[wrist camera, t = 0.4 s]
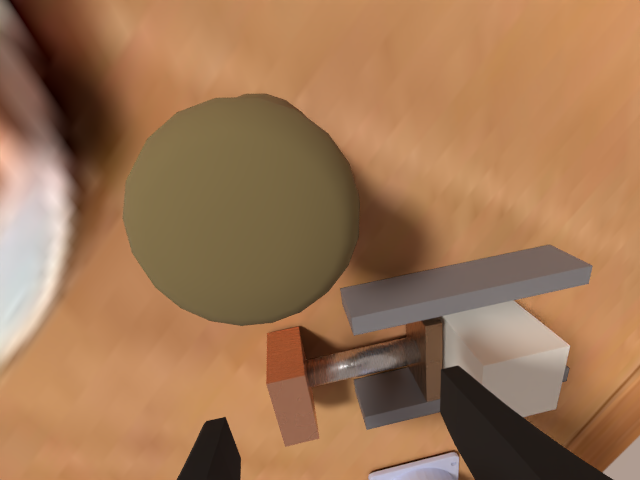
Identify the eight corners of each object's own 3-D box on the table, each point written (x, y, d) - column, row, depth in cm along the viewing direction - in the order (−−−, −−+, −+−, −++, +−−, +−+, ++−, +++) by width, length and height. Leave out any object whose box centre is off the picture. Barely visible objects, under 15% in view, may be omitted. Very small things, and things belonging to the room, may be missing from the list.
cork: (308, 82, 15) (385, 29, 5) (329, 203, 17) (408, 333, 7) (180, 106, 15) (-21, 103, 5) (220, 226, 17) (146, 397, 7)
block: (488, 337, 23) (556, 409, 18) (428, 351, 23) (478, 428, 17) (493, 284, 21) (570, 345, 16) (427, 298, 21) (483, 365, 15)
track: (533, 350, 24) (566, 381, 21) (355, 391, 23) (366, 429, 20) (549, 244, 21) (592, 265, 18) (340, 288, 20) (351, 318, 17)
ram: (421, 363, 23) (449, 412, 19) (284, 395, 22) (287, 452, 18) (419, 293, 20) (451, 334, 17) (265, 326, 20) (264, 377, 16)
